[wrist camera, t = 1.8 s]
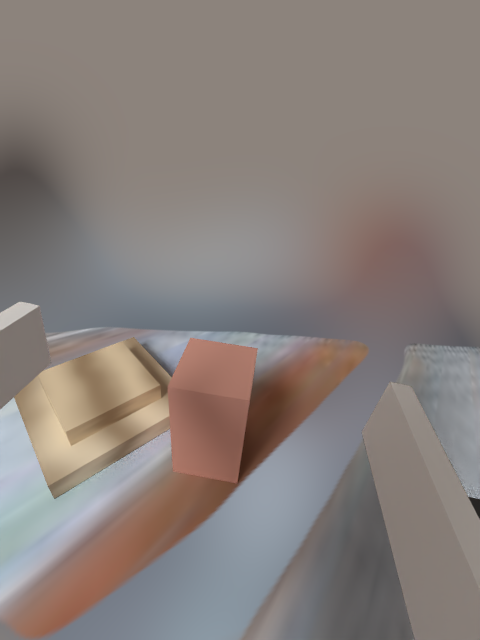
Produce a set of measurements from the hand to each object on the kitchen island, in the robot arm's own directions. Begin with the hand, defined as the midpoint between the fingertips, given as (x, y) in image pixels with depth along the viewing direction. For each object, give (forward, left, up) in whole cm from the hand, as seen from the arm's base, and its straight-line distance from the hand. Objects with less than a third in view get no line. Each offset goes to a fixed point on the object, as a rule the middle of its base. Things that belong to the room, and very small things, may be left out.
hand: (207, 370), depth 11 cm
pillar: (-6, -7, -19) cm, 22 cm away
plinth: (0, -18, -19) cm, 27 cm away
